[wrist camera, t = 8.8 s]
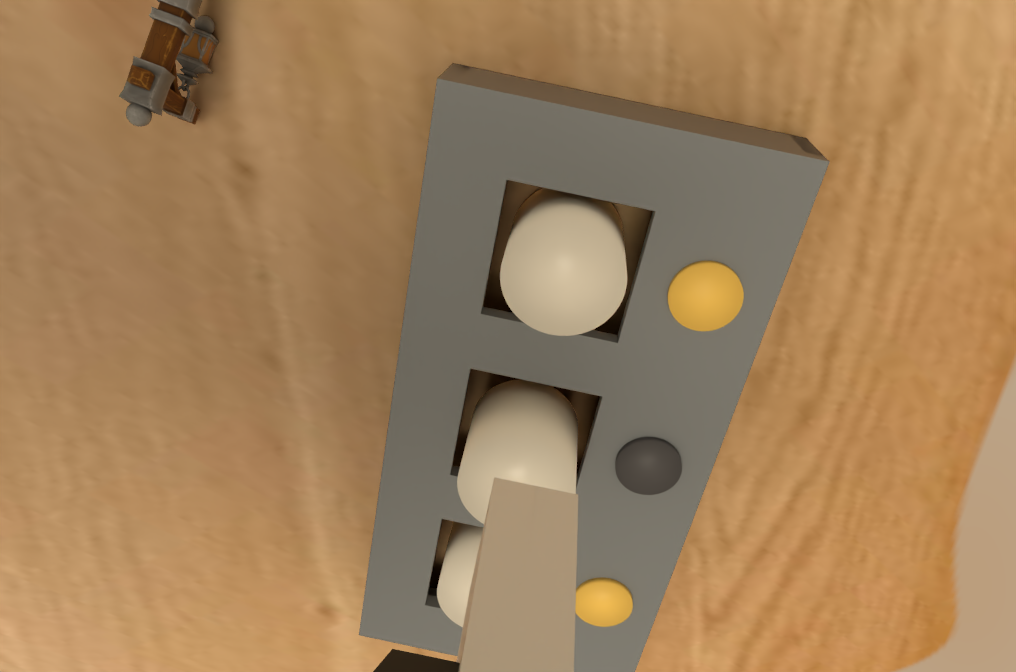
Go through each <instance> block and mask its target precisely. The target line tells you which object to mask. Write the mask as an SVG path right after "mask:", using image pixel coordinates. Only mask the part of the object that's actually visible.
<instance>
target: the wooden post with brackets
mask: <svg viewBox="0 0 1016 672" xmlns="http://www.w3.org/2000/svg"><path fill="white" fill-rule="evenodd" d="M157 1H159V2H160V4H159V7H158V9H156V8H154V7H152V11H151V13H150V15H149V16H150V17H151V18H152V19H154V22H153V25H152V27H151V30H150V33H149V36H148V39H147V41H146V44H145V47H144V50H143V53H142V55H141V58H137V57H135V56H134V58H133V65H132V66H131V69H130V73H129V76H128V79H127V82H126V84H125V87H124V89H123V91H122V92H121V94H120V95H119V97H121V98H123V99H124V100H126V101H127V102H129V103H130V105H129V106H128V107H127V109H126V116H127V119H128V120H129V122H130V123H132V124H133V125H135V126H145V125H147V124H148V123H149V122H150V121H151V118H152V113H151V112H153V113H156V114H158V115H161V116H162V110H163V111H165V112H166V113H168V114H169V115H172V116H175V117H177V118H179V119H182V120H185V121H187V122H190V123H193V124H196V120H197V117H198V114H199V111H200V110H199V109H197V107H196V106H195V103H193V102H192V101H191V100H189V97H190V90H189V88H188V87H189V85H196V84H199V83H198V82H197V81H196V80H194V79H193V77H196V78H198V76H197V74H201V73H209V74H212V73H213V71H212V70H211V69H209V68H208V63H209V61H210V58H211V56H212V54H213V51H214V49H215V47H216V46H217V43H219V41H218V40H217V39H216V38H215V37H214V36H213V35H212V33H213V32H214V28H215V26H214V22H213V20H212V19H211V18H210V17H208V16H199V17H198V13H199V8H200V5H201V2H202V0H157ZM192 18H193V19H196V20H195V28H194V27H192V26H191V25H190V22H191V20H192ZM180 48H181V49H180ZM179 50H180V52H179ZM175 60H177V61H178V62H179V63H180V64H181V65H182V67H183V68H182V69H180V70H181V71H182V72H183V73H184V75H183V74H178V73H176V65H175ZM177 76H178V77H179V79H180V80H181V81H182V86H179V87H178V83H177ZM185 84H187V85H186V86H184V85H185ZM181 88H182V90H183V91H186V90H187V92H188V93H187V97H186V98H185V97H182V96H181V93H180V92H179V90H180V89H181Z"/></svg>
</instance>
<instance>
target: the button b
mask: <svg viewBox="0 0 1016 672" xmlns="http://www.w3.org/2000/svg"><path fill="white" fill-rule="evenodd" d="M577 445H578V419H577V415H576V412H575V410H574V408H573V406H572V404H571V403H570V401H569V400H568V399H567V398H566V397H565V396H564V395H563V394H562V393H561V392H559V391H558V390H557V389H555V388H553V387H551V386H550V385H545V384H541V383H536V382H531V381H527V380H522V379H519V380H511V381H507V382H504V383H501V384H498V385H496V386H494V387H493V388H491V389H490V390H488V391H487V392H486V393H485V394H484V395H483V396H482V397H481V398H480V400H479V401H478V403H477V405H476V407H475V410H474V413H473V417H472V421H471V425H470V429H469V433H468V437H467V441H466V445H465V449H464V453H463V457H462V461H461V465H460V469H459V473H458V478H457V488H458V493H459V496H460V499H461V501H462V503H463V505H464V506H465V508H466V509H467V510H468V512H469V513H470V514H471V515H472V516H473V517H474V518H476V519H477V520H478V521H479V522H481V523H483V524H484V522H485V518H486V513H487V509H488V504H489V499H490V495H491V490H492V486H493V481H494V477H495V478H500V479H505V480H510V481H515V482H520V483H524V484H529V485H534V486H539V487H544V488H549V489H553V490H558V491H563V492H568V493H573V494H576V472H577Z"/></svg>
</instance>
